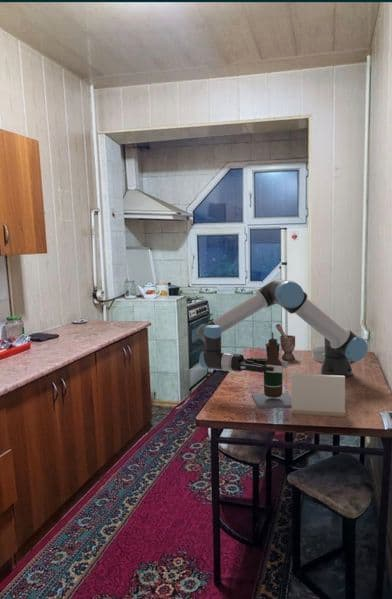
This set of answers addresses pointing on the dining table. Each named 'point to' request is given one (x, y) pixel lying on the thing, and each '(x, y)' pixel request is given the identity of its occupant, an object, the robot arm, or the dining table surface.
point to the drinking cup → (268, 347)
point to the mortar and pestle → (286, 344)
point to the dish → (319, 354)
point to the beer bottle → (273, 378)
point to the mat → (272, 401)
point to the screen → (318, 394)
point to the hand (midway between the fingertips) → (284, 367)
